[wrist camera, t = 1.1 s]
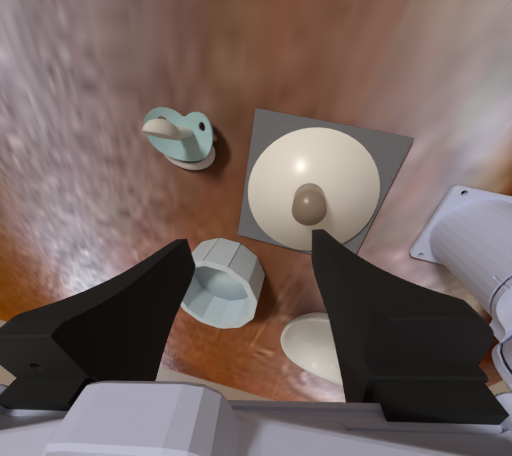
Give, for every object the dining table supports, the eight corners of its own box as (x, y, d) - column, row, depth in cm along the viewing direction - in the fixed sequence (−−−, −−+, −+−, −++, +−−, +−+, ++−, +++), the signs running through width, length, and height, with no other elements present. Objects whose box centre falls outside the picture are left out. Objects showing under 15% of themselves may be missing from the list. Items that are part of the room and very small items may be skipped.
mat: (411, 137, 18) (414, 137, 18) (350, 262, 25) (350, 264, 25) (256, 108, 20) (255, 108, 19) (239, 232, 27) (237, 234, 26)
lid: (404, 143, 18) (428, 149, 14) (348, 260, 24) (354, 284, 21) (260, 115, 20) (249, 114, 16) (242, 232, 26) (231, 250, 22)
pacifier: (220, 173, 24) (221, 114, 21) (194, 191, 19) (191, 115, 16) (162, 163, 25) (155, 105, 22) (122, 177, 20) (105, 103, 17)
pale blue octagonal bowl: (270, 251, 27) (263, 276, 23) (256, 308, 32) (248, 337, 28) (191, 230, 28) (170, 250, 24) (191, 288, 34) (173, 313, 29)
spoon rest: (276, 338, 35) (269, 385, 29) (292, 288, 29) (288, 334, 23) (426, 384, 32) (454, 448, 26) (477, 338, 26) (529, 406, 20)
